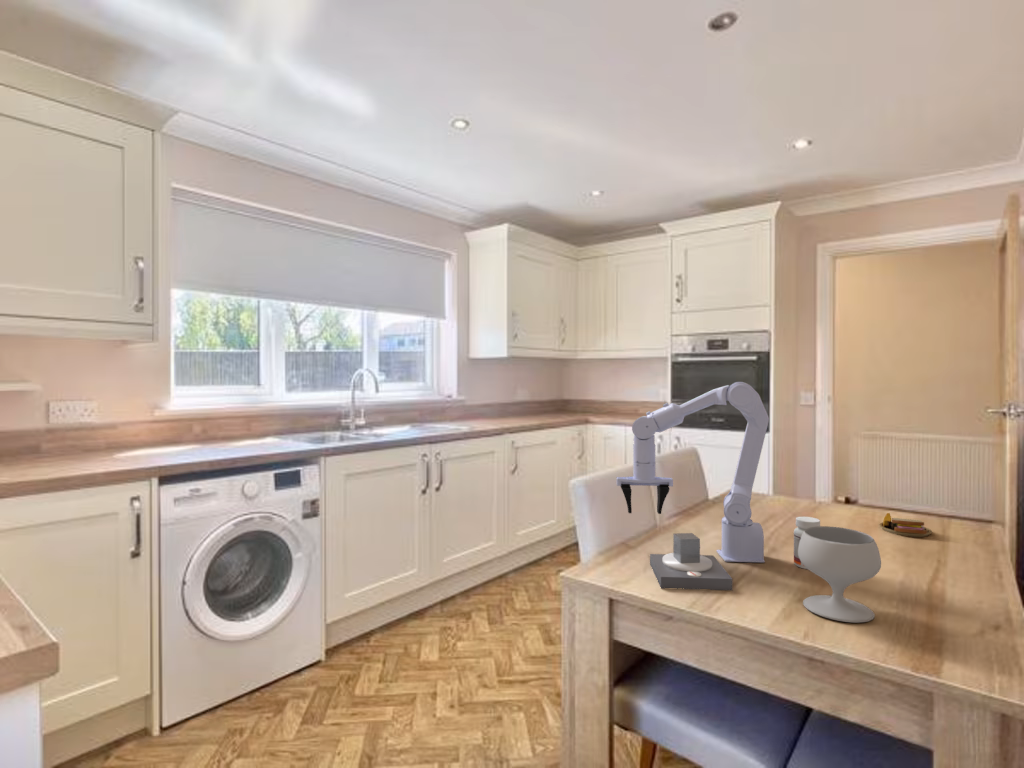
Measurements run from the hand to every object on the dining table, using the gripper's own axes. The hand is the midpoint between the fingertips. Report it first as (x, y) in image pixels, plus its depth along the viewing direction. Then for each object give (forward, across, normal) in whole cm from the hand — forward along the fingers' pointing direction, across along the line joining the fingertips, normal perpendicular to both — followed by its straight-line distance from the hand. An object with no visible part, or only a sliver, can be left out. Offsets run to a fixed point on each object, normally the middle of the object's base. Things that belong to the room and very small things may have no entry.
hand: (644, 512), depth 147 cm
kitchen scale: (+9, -7, +20) cm, 23 cm away
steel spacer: (+6, -7, +18) cm, 20 cm away
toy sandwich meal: (+10, -78, -20) cm, 81 cm away
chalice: (+10, -32, +36) cm, 49 cm away
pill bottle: (+10, -37, +11) cm, 40 cm away
